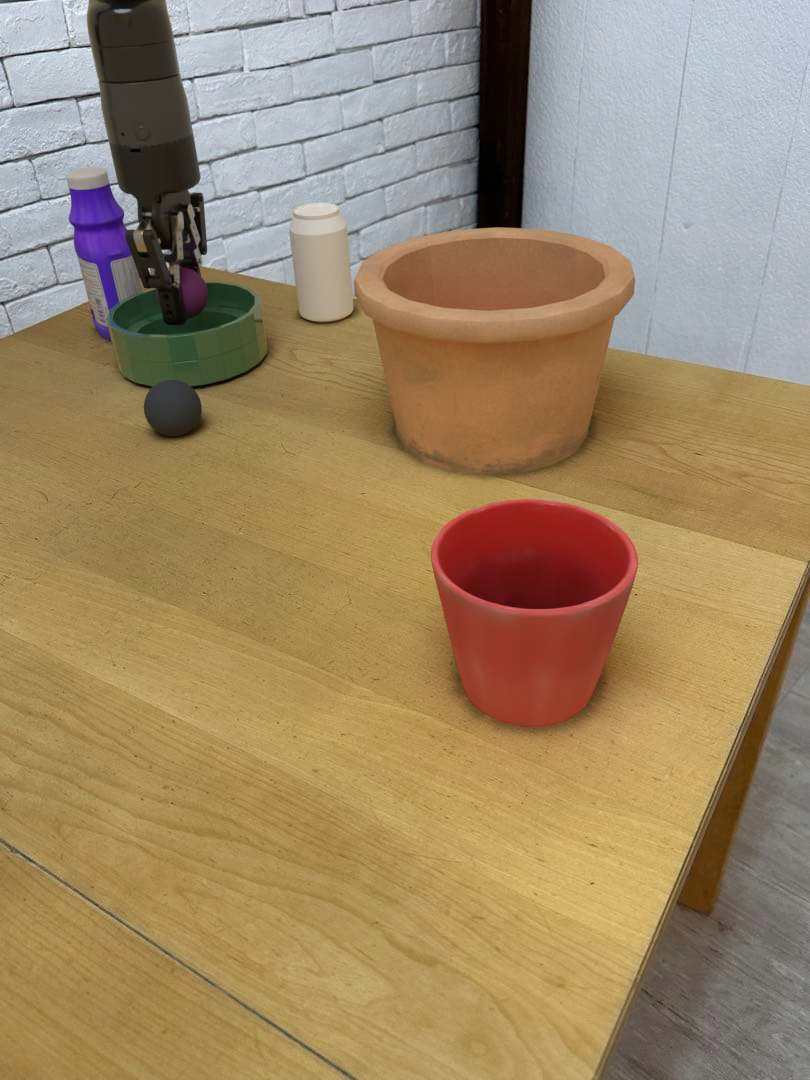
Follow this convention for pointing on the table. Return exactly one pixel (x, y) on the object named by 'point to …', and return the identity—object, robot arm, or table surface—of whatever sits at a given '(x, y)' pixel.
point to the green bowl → (189, 337)
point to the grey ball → (172, 408)
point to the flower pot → (532, 604)
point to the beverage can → (321, 262)
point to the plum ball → (192, 291)
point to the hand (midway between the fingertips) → (185, 313)
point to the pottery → (493, 342)
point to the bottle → (101, 244)
